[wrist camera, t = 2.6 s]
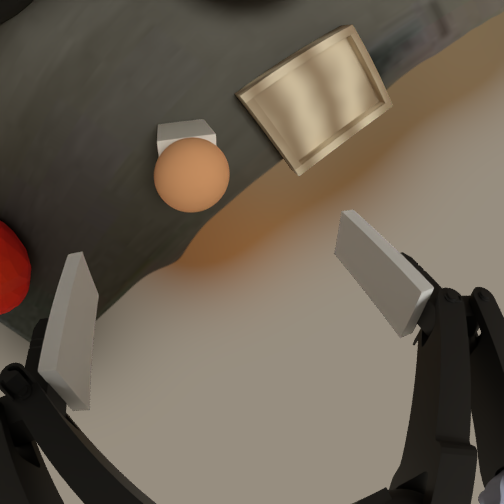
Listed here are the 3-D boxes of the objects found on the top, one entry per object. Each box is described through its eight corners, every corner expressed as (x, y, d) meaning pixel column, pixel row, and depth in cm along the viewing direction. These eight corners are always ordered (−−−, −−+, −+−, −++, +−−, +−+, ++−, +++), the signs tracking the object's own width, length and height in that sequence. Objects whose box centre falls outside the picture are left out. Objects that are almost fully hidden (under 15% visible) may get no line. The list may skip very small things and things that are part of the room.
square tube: (162, 166, 33) (163, 194, 26) (157, 124, 30) (157, 141, 23) (205, 161, 34) (218, 187, 27) (203, 119, 31) (215, 134, 25)
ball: (158, 198, 27) (160, 231, 22) (150, 135, 23) (148, 154, 19) (222, 189, 28) (238, 220, 23) (220, 127, 25) (236, 144, 20)
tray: (291, 169, 37) (299, 176, 35) (234, 93, 30) (240, 95, 28) (381, 102, 35) (393, 105, 33) (341, 25, 28) (352, 24, 26)
